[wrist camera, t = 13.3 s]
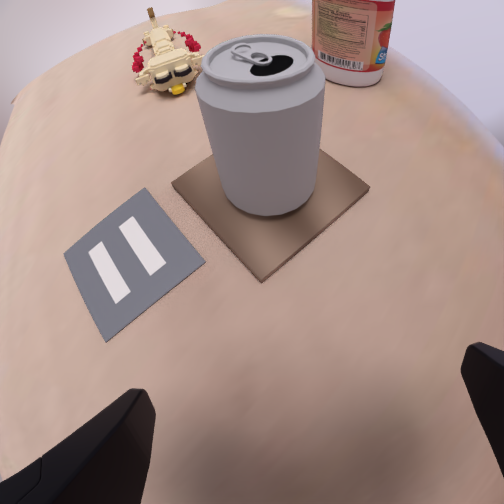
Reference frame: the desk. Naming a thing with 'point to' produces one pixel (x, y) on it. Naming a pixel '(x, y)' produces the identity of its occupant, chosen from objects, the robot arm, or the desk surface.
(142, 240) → the tile
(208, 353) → the desk surface
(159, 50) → the cream voxel animal
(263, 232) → the board
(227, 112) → the can
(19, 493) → the robot arm
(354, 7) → the fruit juice
